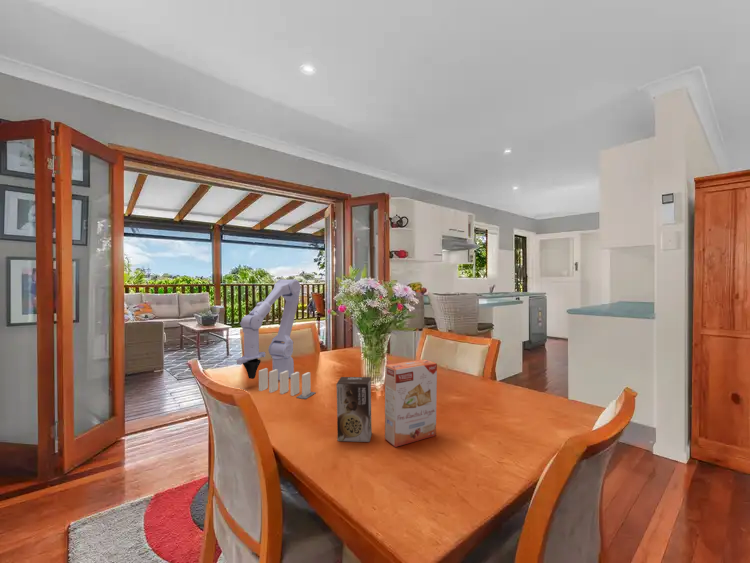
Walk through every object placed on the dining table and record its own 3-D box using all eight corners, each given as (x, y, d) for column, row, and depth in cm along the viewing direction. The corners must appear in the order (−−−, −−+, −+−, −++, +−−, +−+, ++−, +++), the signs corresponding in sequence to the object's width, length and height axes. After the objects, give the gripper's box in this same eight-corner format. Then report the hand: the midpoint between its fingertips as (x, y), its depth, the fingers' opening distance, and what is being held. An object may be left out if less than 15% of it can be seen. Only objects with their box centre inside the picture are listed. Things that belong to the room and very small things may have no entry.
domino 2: (275, 389, 140) (275, 369, 140) (278, 389, 140) (277, 369, 140) (269, 392, 137) (268, 371, 137) (271, 392, 136) (271, 372, 136)
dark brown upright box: (372, 432, 102) (371, 376, 101) (369, 442, 95) (369, 383, 95) (341, 431, 102) (340, 376, 102) (336, 441, 96) (336, 382, 96)
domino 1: (265, 387, 142) (265, 368, 142) (267, 388, 142) (267, 368, 142) (258, 390, 139) (258, 370, 138) (261, 391, 138) (261, 370, 138)
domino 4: (296, 392, 137) (296, 371, 137) (299, 392, 136) (299, 372, 136) (290, 395, 133) (290, 374, 133) (293, 395, 133) (293, 374, 132)
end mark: (306, 392, 137) (306, 391, 137) (315, 393, 135) (315, 392, 135) (296, 397, 130) (296, 397, 130) (305, 399, 129) (305, 398, 129)
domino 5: (307, 392, 135) (307, 372, 135) (310, 393, 134) (310, 372, 134) (301, 396, 131) (301, 374, 131) (304, 396, 131) (304, 375, 131)
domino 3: (286, 390, 139) (285, 370, 138) (288, 391, 138) (288, 370, 138) (279, 393, 135) (279, 373, 135) (282, 394, 134) (282, 373, 134)
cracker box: (396, 448, 92) (395, 369, 91) (384, 439, 97) (383, 364, 97) (437, 436, 99) (437, 362, 98) (424, 428, 104) (424, 358, 104)
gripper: (246, 348, 134) (246, 384, 134) (271, 342, 147) (271, 374, 148) (232, 347, 136) (232, 382, 137) (257, 341, 150) (258, 372, 150)
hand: (251, 378), depth 142 cm, fingers closed
